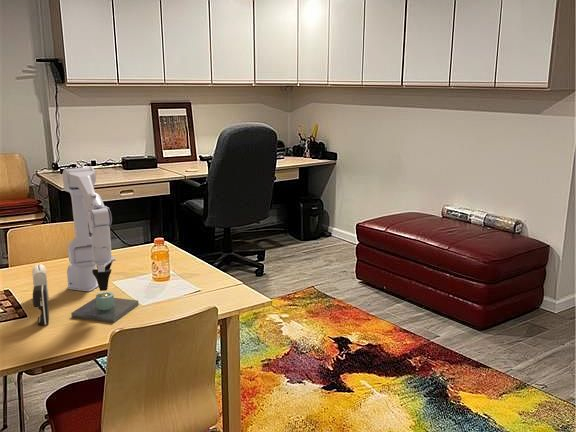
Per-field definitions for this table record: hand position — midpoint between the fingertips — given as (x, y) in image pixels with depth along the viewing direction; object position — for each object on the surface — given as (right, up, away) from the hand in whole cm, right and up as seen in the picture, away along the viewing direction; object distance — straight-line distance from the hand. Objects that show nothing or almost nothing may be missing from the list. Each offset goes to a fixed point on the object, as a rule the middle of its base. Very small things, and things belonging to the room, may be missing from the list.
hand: (104, 286), depth 176 cm
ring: (0, -7, +2) cm, 7 cm away
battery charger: (-17, -10, -7) cm, 21 cm away
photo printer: (-25, -6, +10) cm, 28 cm away
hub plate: (0, -8, +2) cm, 9 cm away
